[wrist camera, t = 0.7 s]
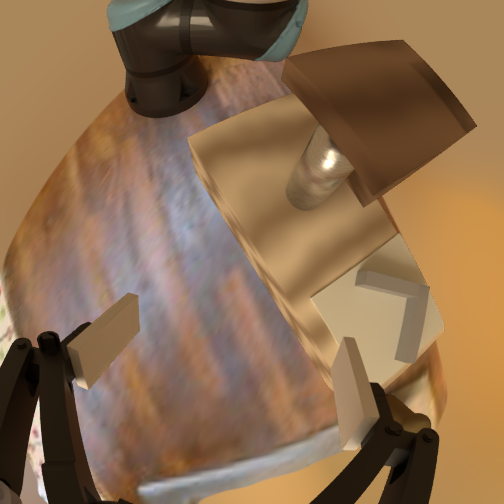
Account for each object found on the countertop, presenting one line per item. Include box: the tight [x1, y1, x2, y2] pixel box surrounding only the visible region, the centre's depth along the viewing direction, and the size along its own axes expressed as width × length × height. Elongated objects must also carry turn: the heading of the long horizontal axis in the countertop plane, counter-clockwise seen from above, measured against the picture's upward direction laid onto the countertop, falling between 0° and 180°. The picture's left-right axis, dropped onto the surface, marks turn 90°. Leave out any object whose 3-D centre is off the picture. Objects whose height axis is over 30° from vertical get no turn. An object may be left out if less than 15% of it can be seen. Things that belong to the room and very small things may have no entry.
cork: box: [385, 395, 431, 433], centre depth 31 cm, size 6×6×11 cm
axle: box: [286, 123, 354, 211], centre depth 25 cm, size 4×4×12 cm
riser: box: [188, 93, 445, 392], centre depth 35 cm, size 38×16×10 cm, turn 32°
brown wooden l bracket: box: [281, 40, 477, 208], centre depth 22 cm, size 9×12×18 cm
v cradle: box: [310, 233, 444, 386], centre depth 28 cm, size 14×14×3 cm
